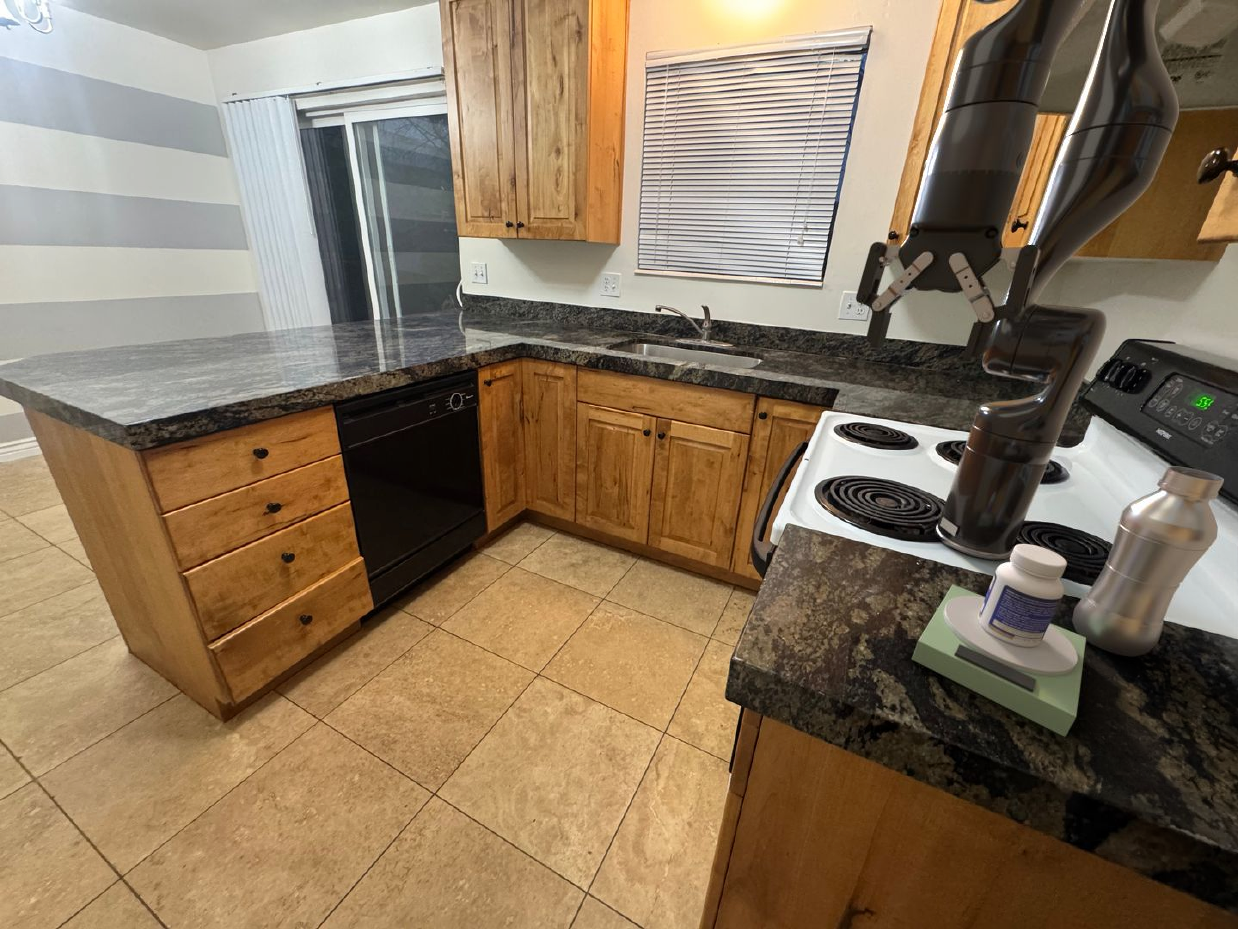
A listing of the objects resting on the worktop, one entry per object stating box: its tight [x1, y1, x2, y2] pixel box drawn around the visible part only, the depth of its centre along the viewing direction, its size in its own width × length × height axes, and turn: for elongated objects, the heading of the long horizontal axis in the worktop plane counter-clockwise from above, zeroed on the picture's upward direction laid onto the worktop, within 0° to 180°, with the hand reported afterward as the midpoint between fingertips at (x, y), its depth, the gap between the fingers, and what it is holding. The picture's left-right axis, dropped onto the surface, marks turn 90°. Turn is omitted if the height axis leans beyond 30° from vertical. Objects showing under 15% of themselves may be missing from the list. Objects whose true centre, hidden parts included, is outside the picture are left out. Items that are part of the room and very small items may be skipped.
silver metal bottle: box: [1071, 465, 1225, 657], centre depth 50 cm, size 6×7×20 cm
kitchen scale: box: [911, 584, 1087, 738], centre depth 50 cm, size 14×12×3 cm
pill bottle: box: [978, 543, 1068, 647], centre depth 48 cm, size 5×5×9 cm
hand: (919, 354), depth 51 cm, fingers open, 8 cm apart
